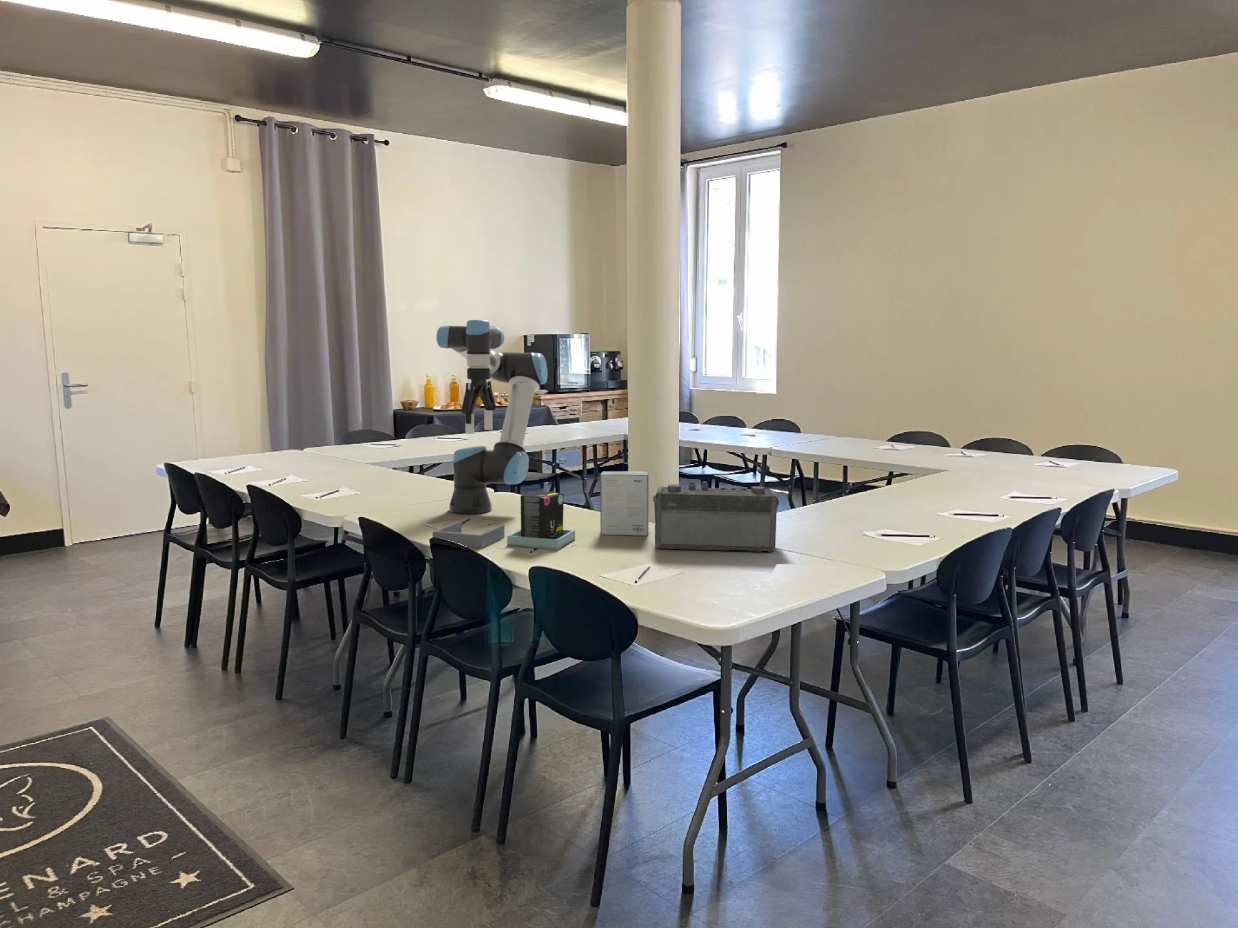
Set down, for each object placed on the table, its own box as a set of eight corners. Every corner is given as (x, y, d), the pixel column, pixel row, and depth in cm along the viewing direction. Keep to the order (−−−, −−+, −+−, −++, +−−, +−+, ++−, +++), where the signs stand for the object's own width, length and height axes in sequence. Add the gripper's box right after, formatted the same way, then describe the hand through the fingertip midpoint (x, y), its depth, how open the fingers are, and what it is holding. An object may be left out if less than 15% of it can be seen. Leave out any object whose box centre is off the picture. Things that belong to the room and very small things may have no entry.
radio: (651, 550, 268) (652, 484, 265) (654, 539, 282) (655, 477, 280) (778, 554, 265) (780, 487, 262) (774, 543, 279) (776, 480, 276)
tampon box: (544, 545, 269) (544, 498, 267) (519, 542, 274) (519, 495, 272) (564, 538, 279) (564, 492, 277) (539, 535, 283) (539, 490, 281)
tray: (526, 535, 285) (526, 526, 285) (575, 539, 280) (575, 530, 280) (507, 545, 272) (507, 535, 271) (557, 550, 267) (557, 540, 266)
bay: (458, 533, 287) (457, 521, 287) (504, 537, 282) (504, 525, 282) (432, 544, 272) (432, 531, 272) (481, 548, 267) (481, 535, 267)
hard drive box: (649, 531, 294) (649, 471, 291) (647, 536, 286) (648, 475, 283) (602, 529, 295) (602, 470, 292) (599, 534, 288) (599, 473, 285)
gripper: (485, 366, 305) (485, 427, 308) (449, 368, 282) (451, 435, 285) (505, 366, 303) (505, 428, 306) (471, 368, 279) (472, 436, 282)
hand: (479, 431), depth 295 cm, fingers open, 13 cm apart
